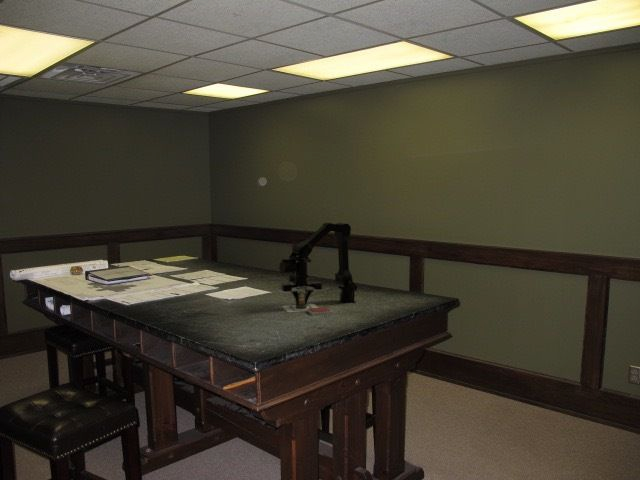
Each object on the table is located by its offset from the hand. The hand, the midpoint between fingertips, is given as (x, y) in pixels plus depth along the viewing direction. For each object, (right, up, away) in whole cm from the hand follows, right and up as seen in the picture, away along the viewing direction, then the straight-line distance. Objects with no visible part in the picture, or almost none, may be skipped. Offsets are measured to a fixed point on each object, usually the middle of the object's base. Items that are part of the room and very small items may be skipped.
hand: (301, 304), depth 240 cm
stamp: (0, -2, 0) cm, 2 cm away
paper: (0, -2, 0) cm, 2 cm away
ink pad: (+9, -3, -8) cm, 12 cm away
